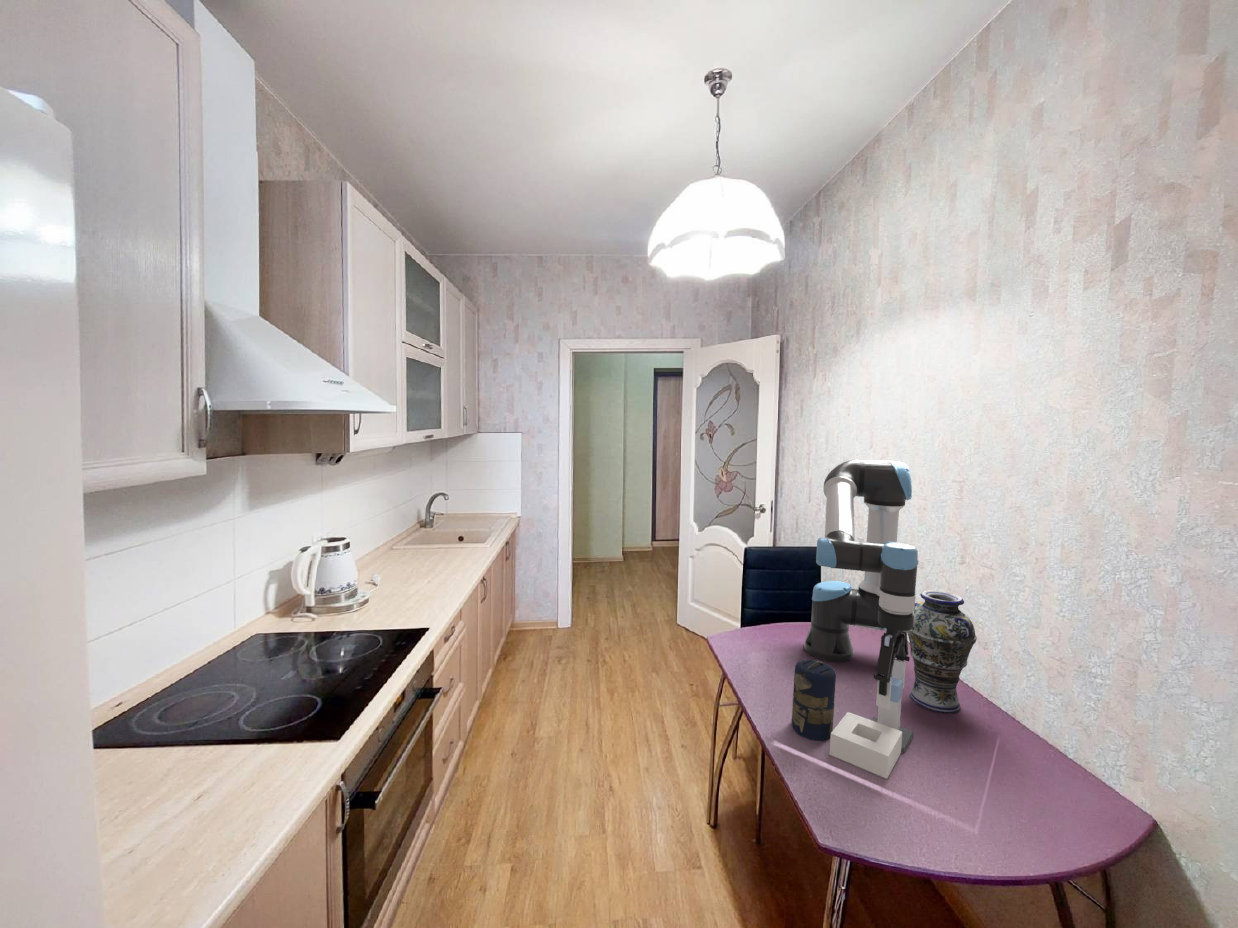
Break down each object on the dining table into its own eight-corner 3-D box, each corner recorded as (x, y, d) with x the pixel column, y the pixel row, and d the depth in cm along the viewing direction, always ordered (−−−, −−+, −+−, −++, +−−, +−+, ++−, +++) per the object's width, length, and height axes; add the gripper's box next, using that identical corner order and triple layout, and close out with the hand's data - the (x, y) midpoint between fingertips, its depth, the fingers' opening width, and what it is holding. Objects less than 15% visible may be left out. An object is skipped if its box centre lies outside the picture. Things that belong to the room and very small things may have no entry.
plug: (881, 729, 129) (884, 674, 128) (899, 736, 127) (902, 680, 126) (876, 736, 126) (880, 680, 125) (894, 743, 124) (898, 686, 123)
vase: (943, 724, 134) (951, 610, 131) (885, 691, 149) (892, 589, 147) (986, 712, 140) (995, 602, 137) (927, 682, 156) (934, 583, 153)
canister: (783, 725, 132) (786, 656, 130) (814, 718, 135) (817, 651, 134) (808, 747, 123) (812, 673, 121) (841, 740, 126) (845, 668, 125)
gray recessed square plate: (873, 724, 133) (873, 716, 133) (912, 738, 127) (913, 731, 127) (862, 740, 126) (862, 732, 126) (903, 756, 120) (904, 748, 120)
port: (846, 735, 128) (847, 711, 128) (900, 756, 120) (902, 731, 120) (829, 758, 119) (830, 733, 119) (886, 782, 111) (888, 756, 111)
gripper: (892, 593, 136) (887, 673, 137) (863, 619, 117) (857, 710, 119) (925, 600, 131) (919, 682, 133) (900, 628, 112) (894, 723, 114)
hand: (890, 696), depth 126 cm, fingers open, 13 cm apart
